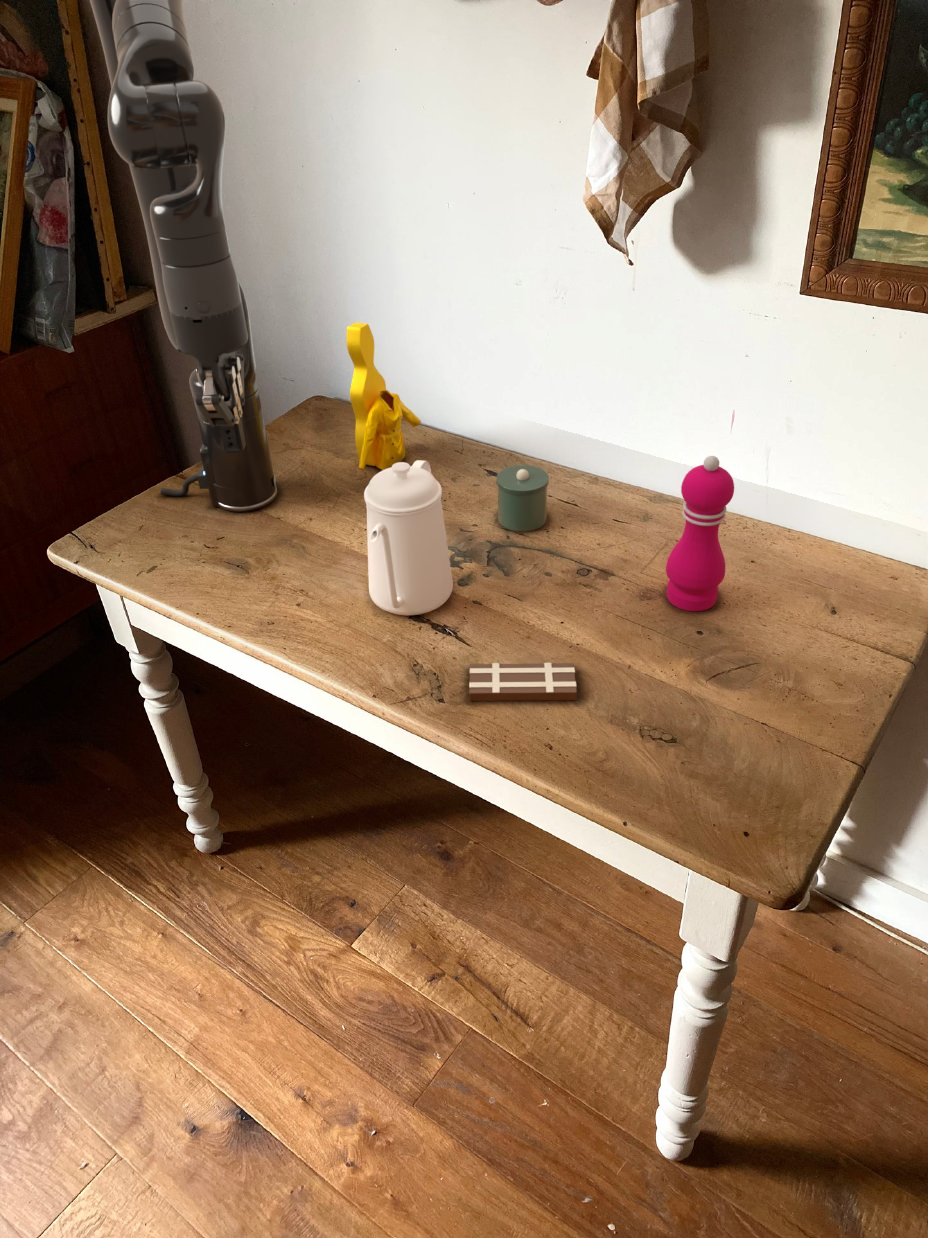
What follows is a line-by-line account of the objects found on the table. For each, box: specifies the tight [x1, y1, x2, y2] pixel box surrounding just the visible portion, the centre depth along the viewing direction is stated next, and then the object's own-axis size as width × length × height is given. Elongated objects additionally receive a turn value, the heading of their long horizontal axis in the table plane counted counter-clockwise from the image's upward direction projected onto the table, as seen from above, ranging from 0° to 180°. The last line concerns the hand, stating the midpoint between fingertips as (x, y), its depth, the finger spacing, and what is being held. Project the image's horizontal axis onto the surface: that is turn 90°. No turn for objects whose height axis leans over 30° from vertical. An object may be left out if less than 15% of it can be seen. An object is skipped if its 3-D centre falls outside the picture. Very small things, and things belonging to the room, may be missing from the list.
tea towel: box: [468, 662, 578, 702], centre depth 104 cm, size 12×5×1 cm, turn 89°
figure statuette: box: [346, 322, 422, 471], centre depth 141 cm, size 18×8×22 cm, turn 151°
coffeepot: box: [363, 459, 454, 616], centre depth 113 cm, size 11×25×19 cm, turn 169°
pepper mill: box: [665, 455, 735, 612], centre depth 110 cm, size 7×7×20 cm
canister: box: [495, 464, 550, 533], centre depth 130 cm, size 7×7×8 cm
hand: (235, 450), depth 106 cm, fingers closed
